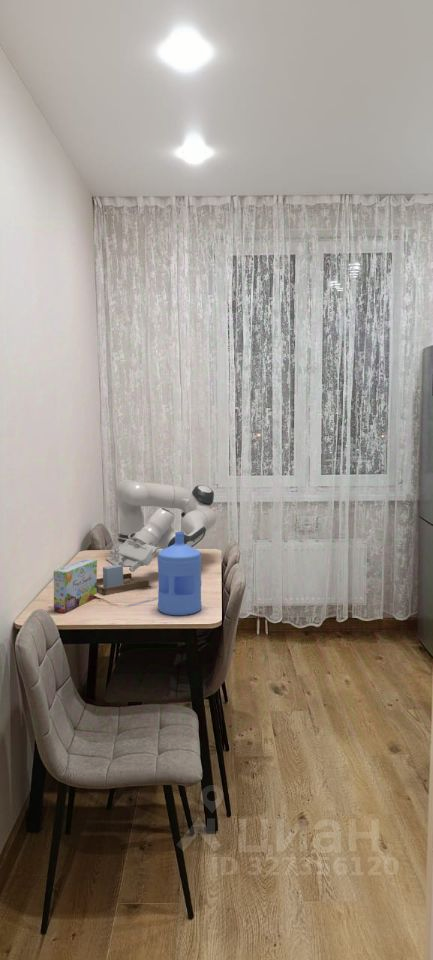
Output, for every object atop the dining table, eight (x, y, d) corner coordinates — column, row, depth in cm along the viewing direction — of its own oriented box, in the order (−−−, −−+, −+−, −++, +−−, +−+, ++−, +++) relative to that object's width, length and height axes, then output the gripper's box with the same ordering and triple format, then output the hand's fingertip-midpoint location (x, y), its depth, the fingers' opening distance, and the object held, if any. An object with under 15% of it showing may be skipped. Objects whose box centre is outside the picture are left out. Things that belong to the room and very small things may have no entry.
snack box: (66, 613, 226) (65, 571, 224) (53, 612, 228) (52, 570, 226) (98, 597, 245) (97, 558, 244) (85, 596, 247) (84, 557, 246)
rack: (86, 590, 255) (86, 580, 254) (132, 582, 267) (132, 572, 267) (103, 599, 243) (103, 589, 242) (151, 590, 255) (151, 580, 255)
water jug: (170, 601, 241) (169, 527, 238) (208, 605, 235) (208, 530, 232) (150, 613, 226) (149, 535, 223) (190, 618, 220) (190, 538, 217)
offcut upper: (122, 584, 259) (122, 579, 258) (128, 582, 261) (128, 578, 261) (132, 586, 255) (132, 582, 255) (138, 584, 258) (138, 580, 258)
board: (103, 592, 253) (102, 567, 252) (119, 589, 257) (118, 564, 256) (107, 594, 250) (107, 568, 249) (123, 591, 254) (122, 566, 253)
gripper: (164, 550, 253) (143, 578, 247) (137, 542, 269) (117, 568, 264) (154, 540, 249) (133, 568, 244) (127, 533, 265) (107, 559, 260)
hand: (124, 568), depth 254 cm, fingers open, 8 cm apart
